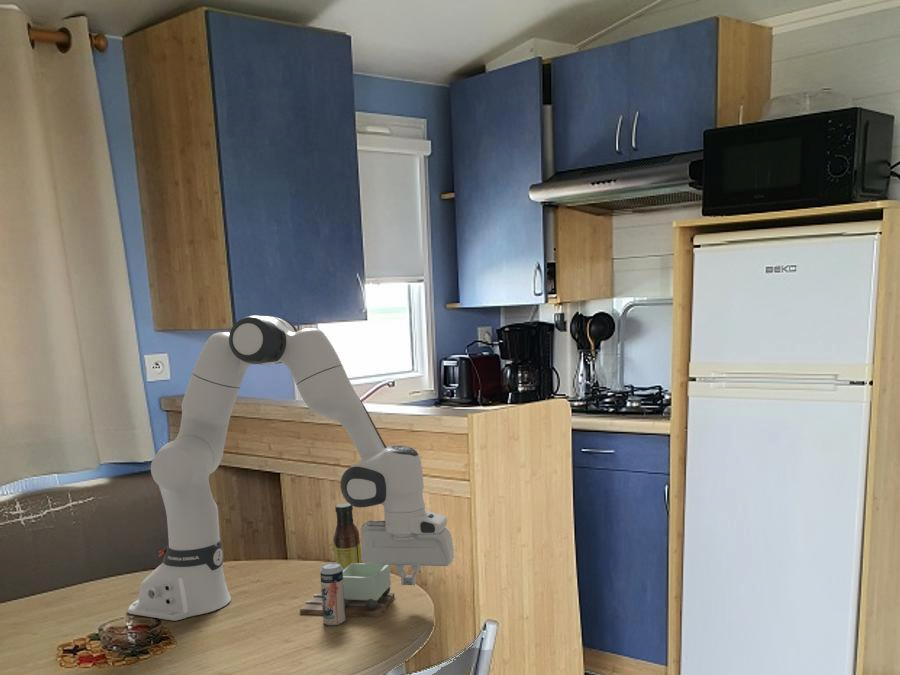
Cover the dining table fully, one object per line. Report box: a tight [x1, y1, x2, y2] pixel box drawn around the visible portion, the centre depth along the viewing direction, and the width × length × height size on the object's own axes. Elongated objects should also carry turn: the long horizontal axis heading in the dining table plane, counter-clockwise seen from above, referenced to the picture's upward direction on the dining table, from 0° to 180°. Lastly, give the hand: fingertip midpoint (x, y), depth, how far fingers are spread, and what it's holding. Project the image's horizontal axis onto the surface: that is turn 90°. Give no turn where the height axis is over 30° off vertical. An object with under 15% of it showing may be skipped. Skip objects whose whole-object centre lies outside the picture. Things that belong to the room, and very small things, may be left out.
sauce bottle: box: [333, 502, 363, 570], centre depth 175 cm, size 7×6×20 cm
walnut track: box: [299, 590, 395, 618], centre depth 164 cm, size 18×11×1 cm, turn 76°
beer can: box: [319, 562, 347, 627], centre depth 155 cm, size 5×5×12 cm
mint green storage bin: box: [343, 562, 392, 610], centre depth 163 cm, size 9×9×7 cm
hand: (409, 584), depth 160 cm, fingers closed
